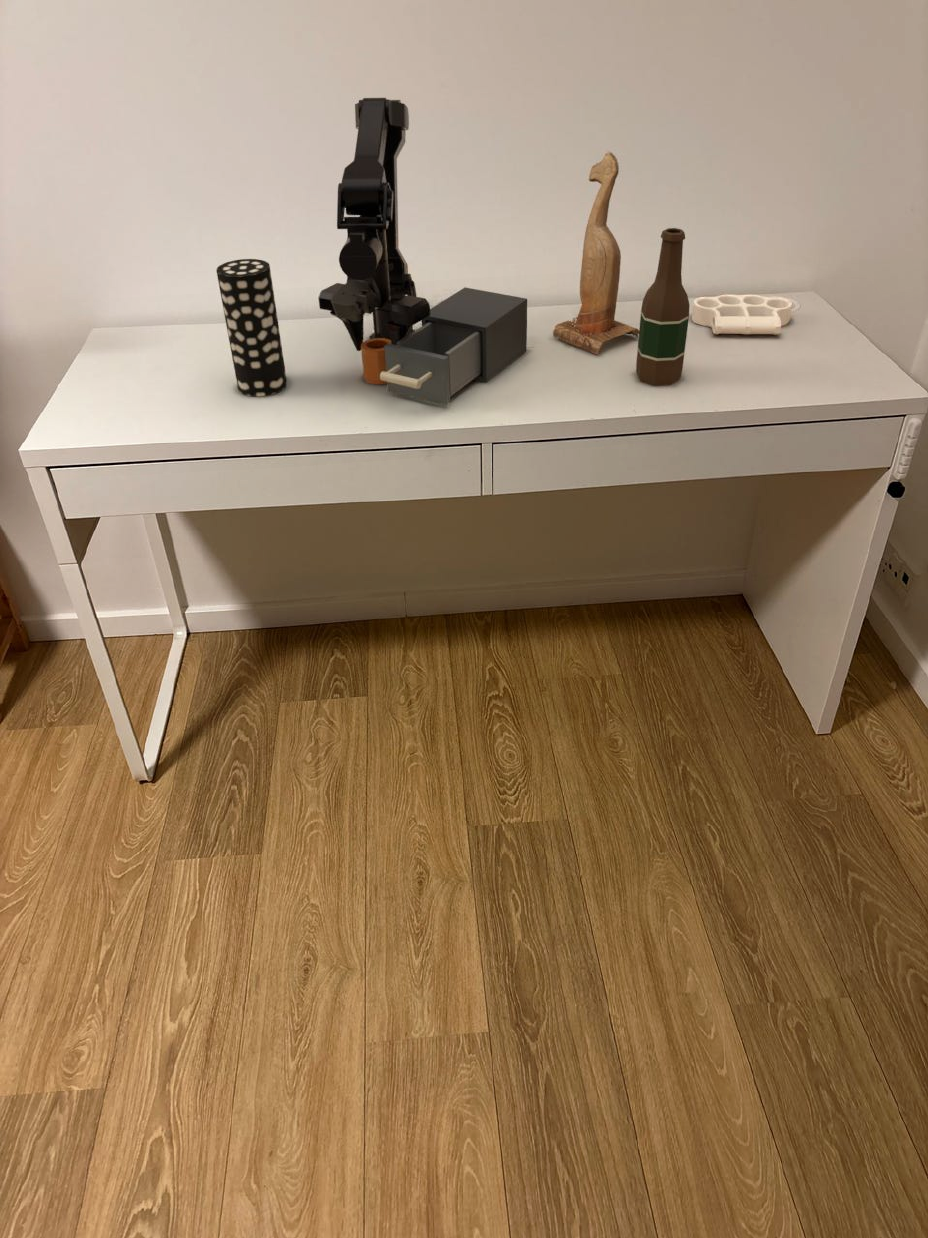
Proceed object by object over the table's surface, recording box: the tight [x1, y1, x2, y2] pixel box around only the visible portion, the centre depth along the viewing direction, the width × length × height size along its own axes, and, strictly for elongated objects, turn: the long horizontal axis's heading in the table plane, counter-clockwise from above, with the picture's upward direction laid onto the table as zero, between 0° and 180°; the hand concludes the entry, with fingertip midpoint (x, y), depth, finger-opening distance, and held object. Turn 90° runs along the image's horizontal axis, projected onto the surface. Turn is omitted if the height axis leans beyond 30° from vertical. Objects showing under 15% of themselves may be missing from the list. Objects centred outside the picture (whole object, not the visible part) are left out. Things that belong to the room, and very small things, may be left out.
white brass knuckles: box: [691, 293, 793, 336], centre depth 180 cm, size 3×18×15 cm
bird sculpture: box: [552, 150, 639, 355], centre depth 167 cm, size 11×12×32 cm
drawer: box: [380, 321, 483, 406], centre depth 158 cm, size 18×11×8 cm, turn 150°
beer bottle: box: [635, 227, 691, 387], centre depth 156 cm, size 8×8×24 cm
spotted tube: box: [215, 258, 288, 397], centre depth 159 cm, size 8×8×20 cm
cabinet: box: [421, 286, 528, 383], centre depth 168 cm, size 15×13×10 cm
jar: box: [360, 338, 391, 385], centre depth 165 cm, size 5×5×6 cm
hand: (377, 353), depth 163 cm, fingers open, 7 cm apart
